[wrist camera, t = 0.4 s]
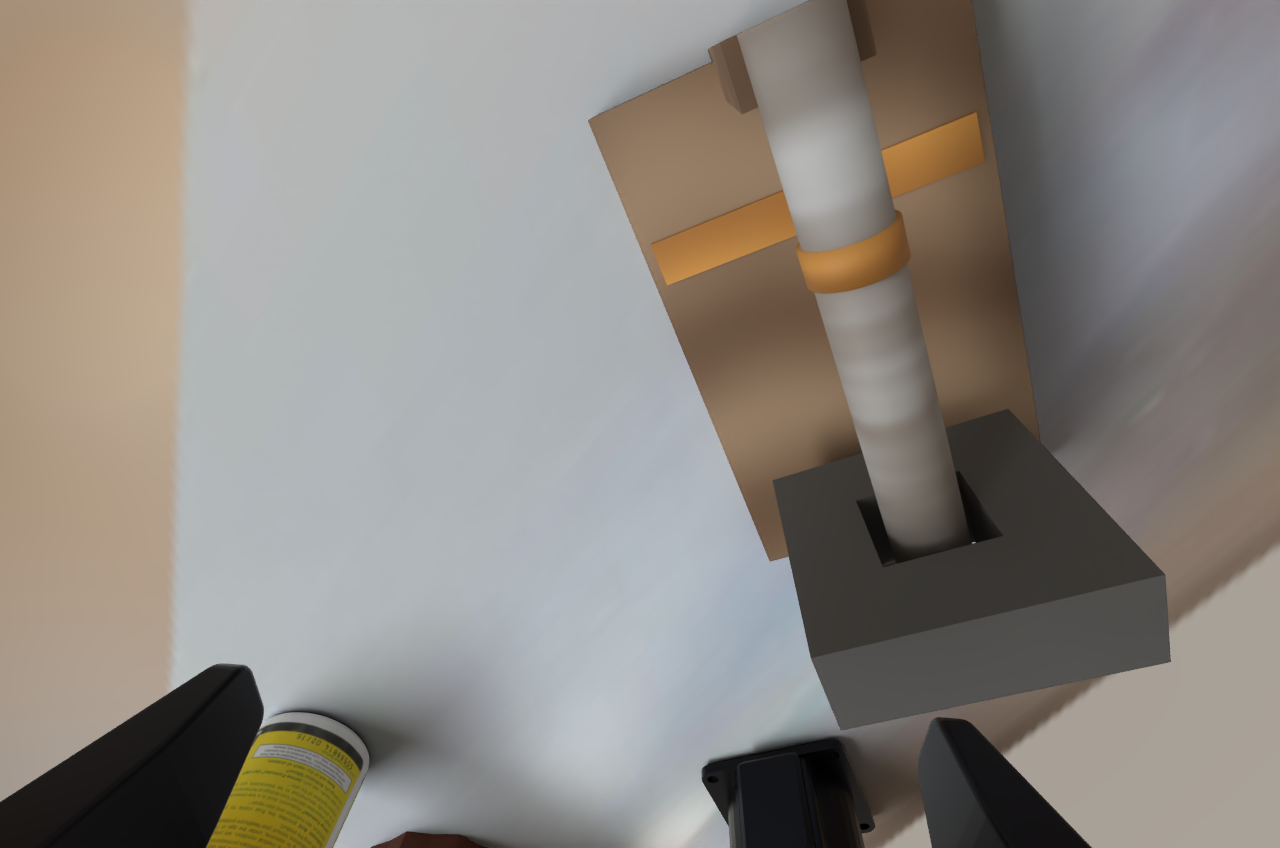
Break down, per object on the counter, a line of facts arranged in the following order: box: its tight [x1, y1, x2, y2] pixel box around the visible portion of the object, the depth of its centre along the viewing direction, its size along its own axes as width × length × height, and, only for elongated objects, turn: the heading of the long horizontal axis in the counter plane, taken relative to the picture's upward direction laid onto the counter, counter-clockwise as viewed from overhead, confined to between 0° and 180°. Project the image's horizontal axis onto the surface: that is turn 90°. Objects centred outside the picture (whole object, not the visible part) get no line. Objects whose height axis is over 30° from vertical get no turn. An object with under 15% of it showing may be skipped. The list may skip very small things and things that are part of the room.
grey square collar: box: [772, 409, 1171, 730], centre depth 16 cm, size 2×7×7 cm, turn 113°
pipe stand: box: [588, 0, 1041, 567], centre depth 16 cm, size 16×9×7 cm, turn 23°
